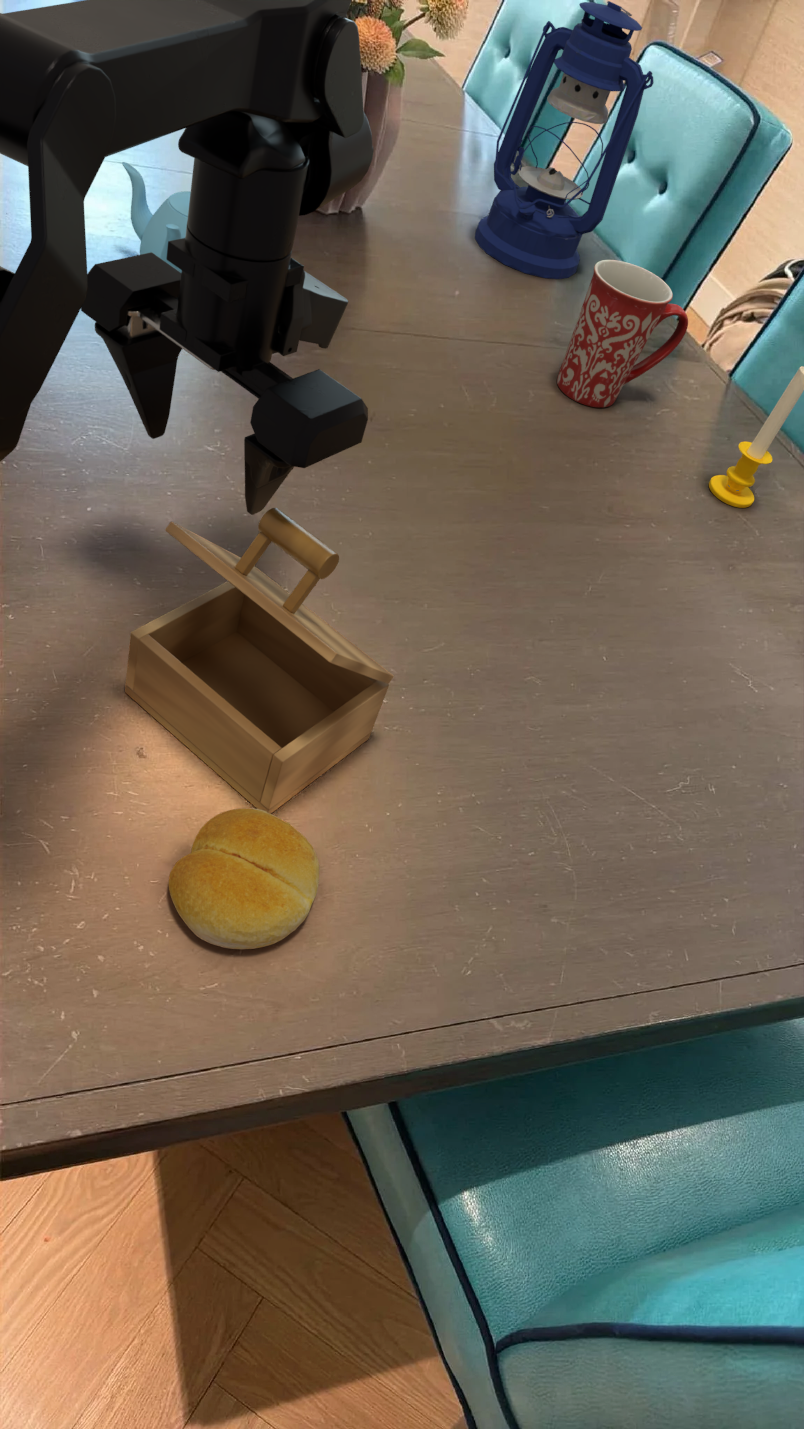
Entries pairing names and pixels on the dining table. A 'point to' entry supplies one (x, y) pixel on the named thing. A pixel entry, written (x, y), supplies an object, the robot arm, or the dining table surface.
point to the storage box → (249, 695)
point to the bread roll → (245, 880)
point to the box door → (274, 596)
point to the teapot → (157, 218)
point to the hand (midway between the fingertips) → (204, 473)
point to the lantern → (537, 218)
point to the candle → (756, 451)
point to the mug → (616, 332)
